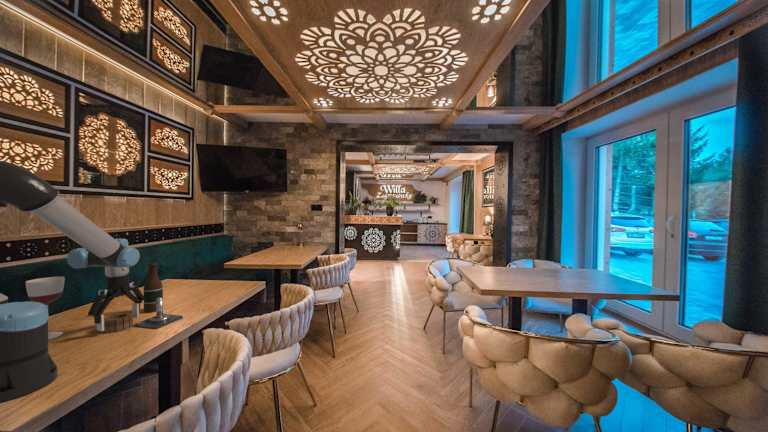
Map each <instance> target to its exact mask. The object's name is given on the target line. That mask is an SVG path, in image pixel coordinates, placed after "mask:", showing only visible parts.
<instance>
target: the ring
mask: <svg viewBox="0 0 768 432" xmlns="http://www.w3.org/2000/svg"><path fill="white" fill-rule="evenodd" d="M133 319H134V318H133V316H132V312H122V313H116V314H111V315H108V316H105V317H104V331H103V333H107V334H111V333H118V332H121V331H125V330H128V329H130V328H132V327H133V323H134V322H133Z"/></svg>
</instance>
